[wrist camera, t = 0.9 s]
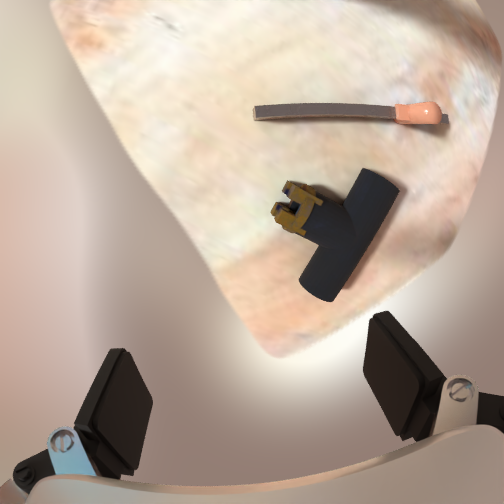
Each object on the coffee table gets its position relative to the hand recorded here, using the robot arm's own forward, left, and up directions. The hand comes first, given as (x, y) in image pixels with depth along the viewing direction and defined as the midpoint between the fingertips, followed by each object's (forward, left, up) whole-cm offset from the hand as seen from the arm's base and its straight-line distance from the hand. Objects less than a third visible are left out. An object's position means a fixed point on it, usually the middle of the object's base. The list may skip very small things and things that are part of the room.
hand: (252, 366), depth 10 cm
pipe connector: (+2, +9, -24) cm, 25 cm away
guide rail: (-11, +15, -23) cm, 29 cm away
